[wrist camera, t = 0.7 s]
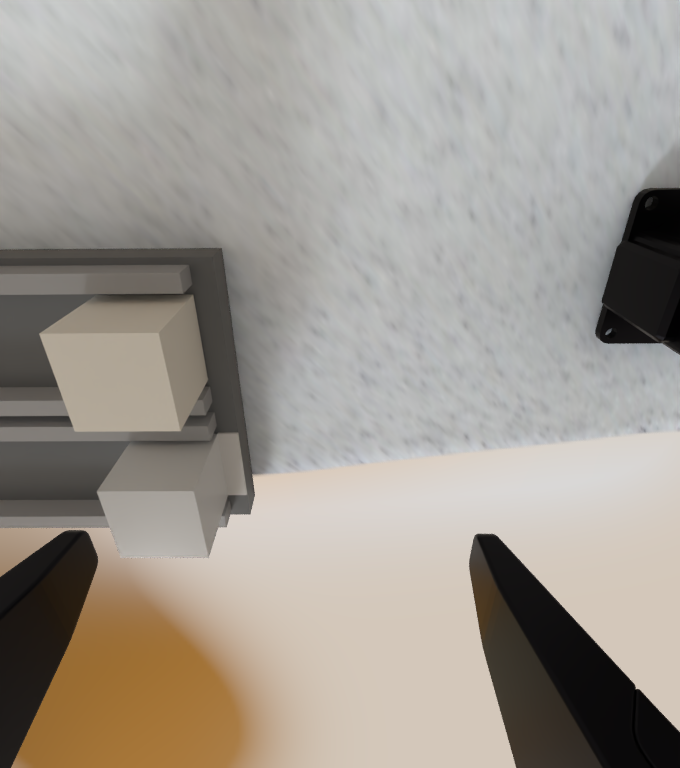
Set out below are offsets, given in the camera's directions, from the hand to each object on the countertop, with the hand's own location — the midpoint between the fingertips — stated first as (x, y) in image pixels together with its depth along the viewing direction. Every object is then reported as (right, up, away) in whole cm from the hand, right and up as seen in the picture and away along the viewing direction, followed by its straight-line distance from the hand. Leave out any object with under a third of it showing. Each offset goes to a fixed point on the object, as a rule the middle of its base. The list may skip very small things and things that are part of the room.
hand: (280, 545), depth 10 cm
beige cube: (-7, +5, +10) cm, 13 cm away
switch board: (-12, +3, +13) cm, 18 cm away
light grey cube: (-7, -1, +13) cm, 15 cm away
